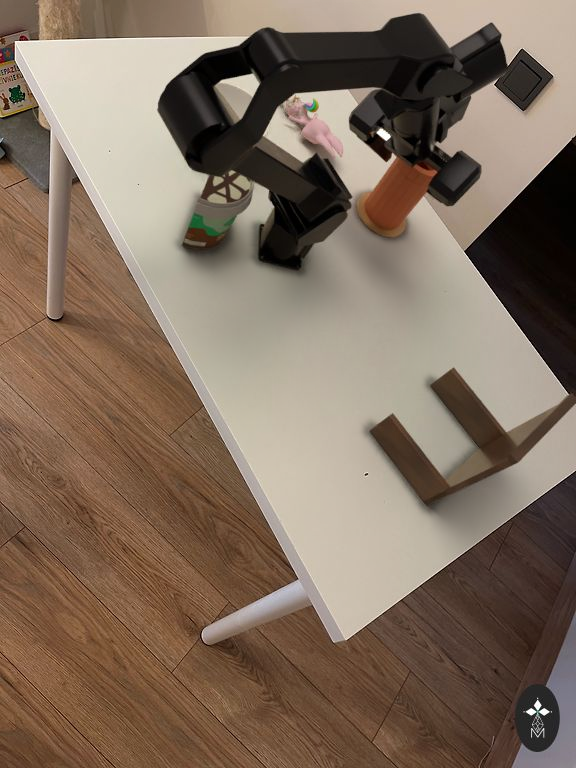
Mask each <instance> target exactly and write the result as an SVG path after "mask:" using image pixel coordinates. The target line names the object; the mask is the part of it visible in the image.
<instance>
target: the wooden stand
mask: <svg viewBox="0 0 576 768" xmlns="http://www.w3.org/2000/svg"><path fill="white" fill-rule="evenodd" d="M429 386H430V388H432V390H433V391H434V392H435V393H436V395H437V396H438V397H439V398H440V400H441V401H442V402H443V404H444V405H445V406H446V407H447V408H448V410H449V411H450V413H452V415H453V416H454V417H455V419H456V420H457V421H458V422H459V423H460V425H461V427H463V429H464V430H465V431H466V432H467V434H468V435H469V436H470V437H471V439H473V441H474V442H475V444H476V445H477V446H478V447H479V448H478V449H477V450H476V451H475V452H474V453H473V454H472V455H470V456H469V457H468V458H467V460H465V461H464V462H463V463H461V465H459V466H458V468H456V469H455V470H454V471H453V472H452V473H451V474H450V475H449V476H447V477H446V478H444V477H443V475H442V474H441V473H440V472H439V471H438V469H437V468H436V467H435V465H434V464H433V462H431V460H430V458H429V457H428V456H427V454H425V452H424V451H423V450H422V448H421V447H420V446H419V445H418V443H417V442H416V441H415V439H414V438H413V437H412V436H411V434H410V433H409V432H408V430H407V429H406V428H405V426H403V424H402V423H401V422H400V420H399V419H398V418H397V416H396V415H395V414H394V413H393V412H391V414H389V415H388V416H387V417H386V418H384V419H383V420H381V421H380V422H378V423H377V424H376V425H374V426H373V427H372V428H371V429H369V432H370V434H371V435H372V437H374V439H375V440H376V441H377V443H378V444H379V445H380V447H381V448H382V449H383V450H384V452H385V453H386V455H388V457H389V458H390V460H391V461H392V463H394V465H395V466H396V468H397V469H398V470H399V471H400V472H401V474H402V476H403V477H404V478H405V479H406V480H407V482H408V483H409V484H410V486H411V487H412V488H413V490H414V491H415V493H417V495H418V497H420V499H421V500H422V501H423V502H424V504H425V505H426V506H429V505H432V504H434V503H436V502H438V501H440V500H442V499H445V498H447V497H449V496H451V495H453V494H455V493H458V492H459V491H461V490H464V489H466V488H468V487H470V486H472V485H474V484H476V483H478V482H481V481H483V480H485V479H487V478H489V477H491V476H493V475H495V474H497V473H500V472H501V471H504V470H506V469H509V468H510V467H513V466H515V465H516V464H519V463H520V462H521V461H522V460H523V458H525V456H527V454H528V453H530V451H531V450H533V448H534V447H535V446H536V445H537V444H538V443H539V442H540V441H541V440H542V439H543V438H544V437H545V436H546V435H547V434H548V433H549V432H550V431H551V430H552V429H553V428H554V427H555V426H556V425H557V424H558V423H559V422H560V421H561V420H562V419H563V418H564V416H565V415H566V414H567V413H568V412H569V411H570V410H572V408H573V407H574V406H575V405H576V396H575V395H574V394H573V393H569V394H567V395H566V396H565V397H564V398H563V399H562V400H561V401H560V402H558V404H556V405H554V406H552V407H551V408H549V409H547V410H545V411H543V412H541V413H539V414H537V415H536V416H534V417H532V418H530V419H529V420H526V421H524V422H523V423H521V424H519V425H517V426H515V427H514V428H512V429H510V430H508V431H506V429H504V428H503V426H502V425H501V423H500V422H499V421H498V420H497V419H496V417H495V416H494V415H493V414H492V413H491V411H490V410H489V409H488V407H487V406H486V405H485V404H484V402H482V400H481V399H480V397H479V396H478V395H477V394H476V393H475V391H474V390H473V389H472V388H471V386H470V385H469V384H468V383H467V381H466V380H465V379H464V378H463V377H462V375H461V374H460V373H459V372H458V370H457V369H456V368H455V367H452V368H451V369H449V370H448V371H446V372H445V373H444V374H442V375H441V376H439V377H438V378H437V379H436V380H435V381H433V382H432V383H431V384H430V385H429Z"/></svg>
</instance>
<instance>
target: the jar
mask: <svg viewBox="0 0 576 768" xmlns="http://www.w3.org/2000/svg"><path fill="white" fill-rule="evenodd" d="M436 173H437V171H436V170H434V169H433V168H432V167H430V166H429V165H428V164H426V163H425V162H424V161H421V162H418V163H417V164H416V165H415V166H414V167H413V168H411V167H410V166H409V165H407V164H406V163H405V162H404V161H402V160H401V159H400V158H398V157H397V156H396V157H395V159H393V162H392V163H391V164H390V166H389V167H388V168H387V170H386V171H385V173H384V174H383V176H382V177H381V178H380V179H379V181H378V182H377V184H376V185H375V187H374V188H373V190H372V191H370V192H371V194H370V195H369V197H368V198H367V200H366V201H365V211H366V214H367V215H368V217H369V218H370V219H371V220H372V221H373V222H374V223H375V224H376V225H378V226H380V227H382V228H385V229H395V228H397V227H398V226H399V225H400V224H401V223H402V222H403V221H404V219H405V218H406V219H407V217H408V216H409V215H410V213H411V212H412V211H413V210H414V208H415V207H416V206H417V205H418V203H419V202H420V201H421V200H422V199H423V198H424V196H425V195H426V194H427V192H426V191H427V190H428V185H429V183H430V181H431V180H432V178H433V177H434V175H435V174H436Z"/></svg>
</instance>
